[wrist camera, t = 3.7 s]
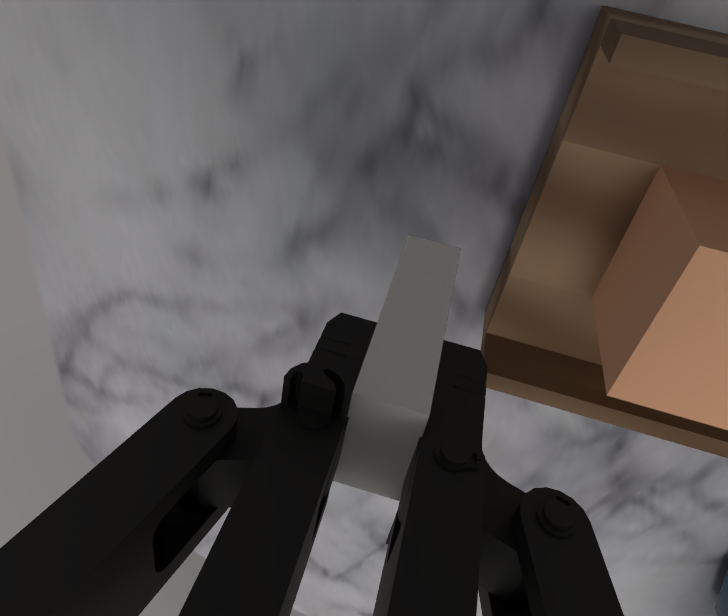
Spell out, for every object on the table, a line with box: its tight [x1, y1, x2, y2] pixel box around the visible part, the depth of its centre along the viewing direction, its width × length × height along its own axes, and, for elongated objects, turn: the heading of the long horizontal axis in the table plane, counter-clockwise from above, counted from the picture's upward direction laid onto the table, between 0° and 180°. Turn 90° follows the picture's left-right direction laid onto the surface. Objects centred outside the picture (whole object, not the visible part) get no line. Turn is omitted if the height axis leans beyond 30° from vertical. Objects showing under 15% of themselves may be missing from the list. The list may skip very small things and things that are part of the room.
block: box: [592, 165, 728, 430], centre depth 18 cm, size 6×6×6 cm
